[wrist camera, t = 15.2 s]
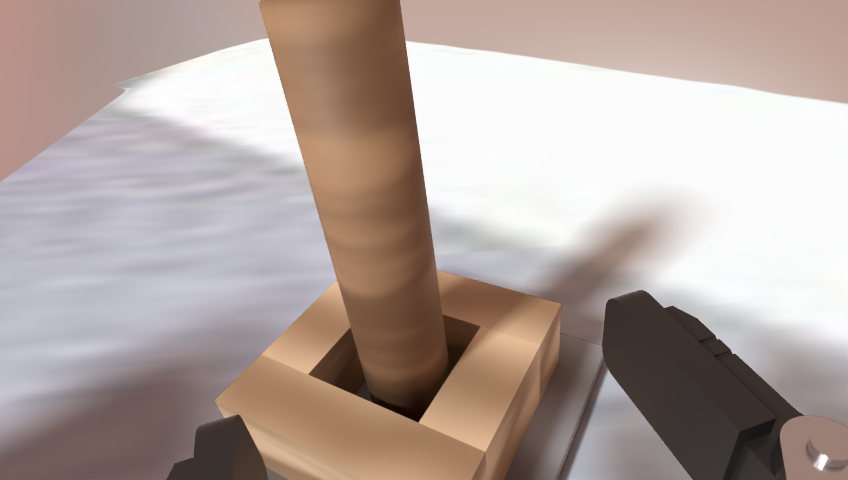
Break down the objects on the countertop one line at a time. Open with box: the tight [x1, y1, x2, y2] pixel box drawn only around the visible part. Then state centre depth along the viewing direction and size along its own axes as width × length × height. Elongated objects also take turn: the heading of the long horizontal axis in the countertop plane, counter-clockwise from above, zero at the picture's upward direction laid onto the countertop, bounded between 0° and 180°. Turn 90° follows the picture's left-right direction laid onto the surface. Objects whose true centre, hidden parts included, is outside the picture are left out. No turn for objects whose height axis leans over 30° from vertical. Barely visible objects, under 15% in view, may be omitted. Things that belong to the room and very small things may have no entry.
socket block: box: [215, 270, 604, 480], centre depth 26 cm, size 16×16×5 cm
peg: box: [259, 0, 451, 423], centre depth 21 cm, size 4×4×20 cm
